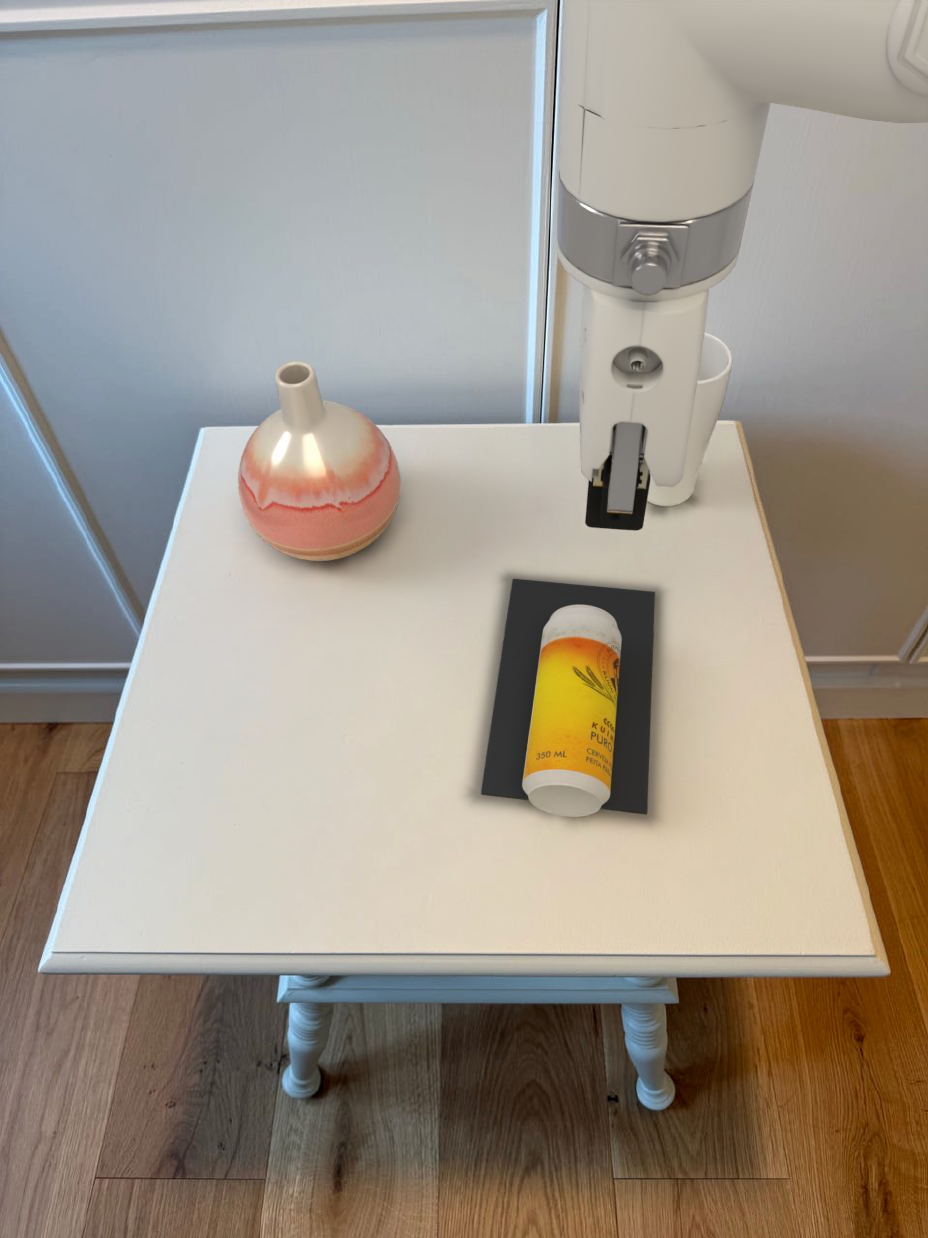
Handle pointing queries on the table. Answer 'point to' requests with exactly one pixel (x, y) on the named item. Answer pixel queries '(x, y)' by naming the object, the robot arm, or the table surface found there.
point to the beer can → (574, 713)
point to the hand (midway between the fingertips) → (614, 518)
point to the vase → (317, 473)
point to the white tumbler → (699, 420)
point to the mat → (519, 677)
